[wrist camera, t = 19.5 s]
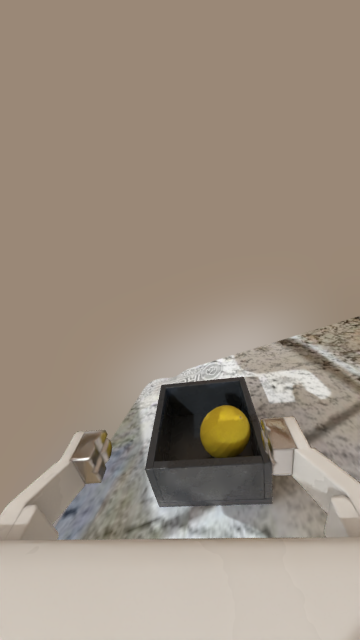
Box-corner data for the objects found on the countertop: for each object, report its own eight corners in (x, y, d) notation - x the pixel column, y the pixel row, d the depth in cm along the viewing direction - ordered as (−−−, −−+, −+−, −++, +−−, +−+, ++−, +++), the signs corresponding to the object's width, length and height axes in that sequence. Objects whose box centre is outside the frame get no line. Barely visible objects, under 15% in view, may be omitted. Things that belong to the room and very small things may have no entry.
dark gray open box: (159, 507, 25) (144, 469, 22) (169, 417, 36) (161, 384, 33) (272, 503, 23) (272, 462, 20) (246, 411, 35) (243, 376, 32)
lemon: (208, 477, 26) (242, 455, 21) (183, 434, 28) (208, 405, 24) (236, 453, 29) (272, 428, 24) (211, 416, 32) (238, 387, 27)
